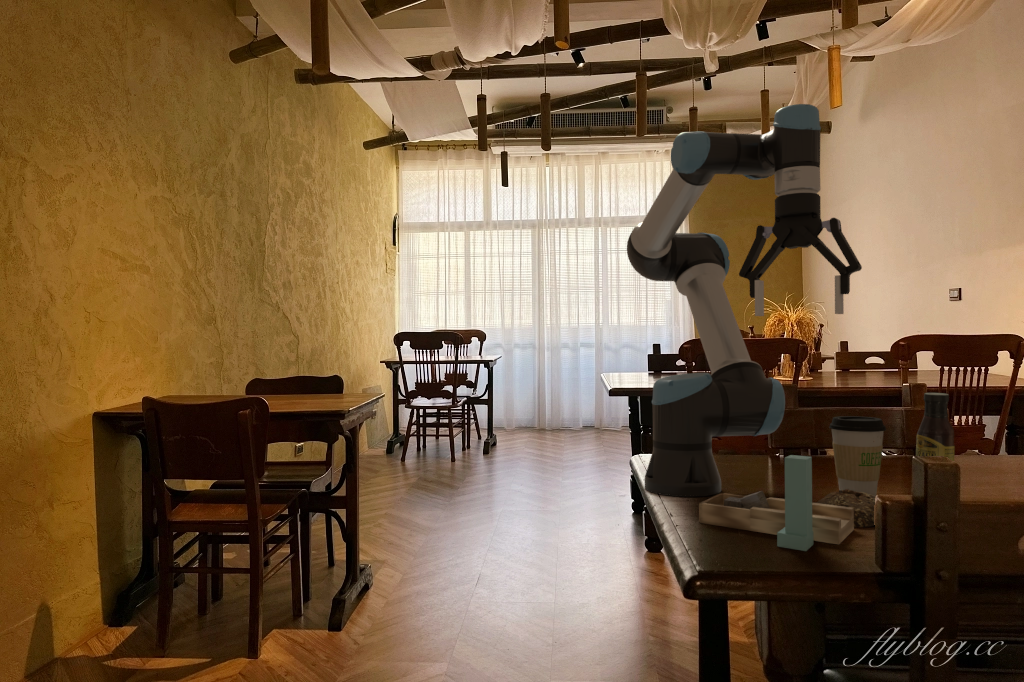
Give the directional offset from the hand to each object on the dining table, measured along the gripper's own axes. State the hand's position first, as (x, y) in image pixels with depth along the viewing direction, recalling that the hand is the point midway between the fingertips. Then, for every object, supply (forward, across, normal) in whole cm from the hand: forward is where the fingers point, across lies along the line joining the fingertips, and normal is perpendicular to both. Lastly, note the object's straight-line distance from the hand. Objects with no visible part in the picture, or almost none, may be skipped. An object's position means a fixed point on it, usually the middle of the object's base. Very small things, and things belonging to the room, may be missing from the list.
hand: (798, 315), depth 124 cm
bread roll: (+35, +8, 0) cm, 36 cm away
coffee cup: (+35, +6, +17) cm, 39 cm away
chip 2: (+31, -3, -14) cm, 34 cm away
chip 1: (+32, -6, -14) cm, 36 cm away
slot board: (+34, 0, -14) cm, 37 cm away
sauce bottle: (+35, +18, +25) cm, 46 cm away
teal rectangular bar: (+34, +6, -23) cm, 42 cm away
